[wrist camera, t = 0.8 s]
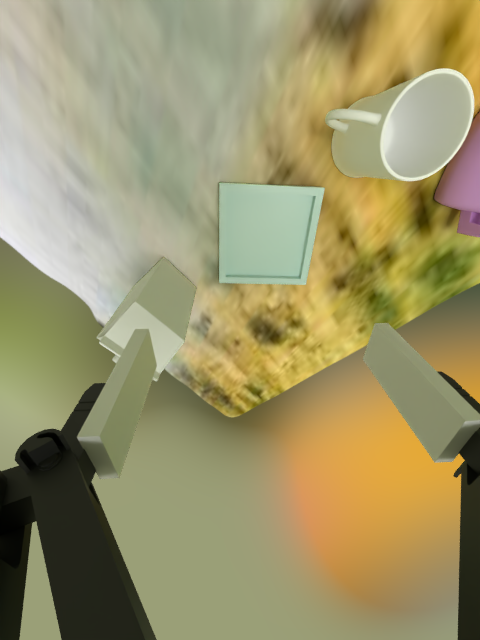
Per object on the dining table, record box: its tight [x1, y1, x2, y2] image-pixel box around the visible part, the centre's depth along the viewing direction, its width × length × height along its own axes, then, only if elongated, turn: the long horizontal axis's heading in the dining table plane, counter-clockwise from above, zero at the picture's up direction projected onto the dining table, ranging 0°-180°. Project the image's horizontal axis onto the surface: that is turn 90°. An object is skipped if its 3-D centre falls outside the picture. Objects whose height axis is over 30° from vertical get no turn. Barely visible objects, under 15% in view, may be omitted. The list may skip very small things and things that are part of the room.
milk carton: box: [97, 257, 196, 381], centre depth 34 cm, size 7×7×19 cm
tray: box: [219, 182, 325, 285], centre depth 38 cm, size 14×14×2 cm
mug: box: [325, 69, 474, 181], centre depth 27 cm, size 12×8×12 cm
